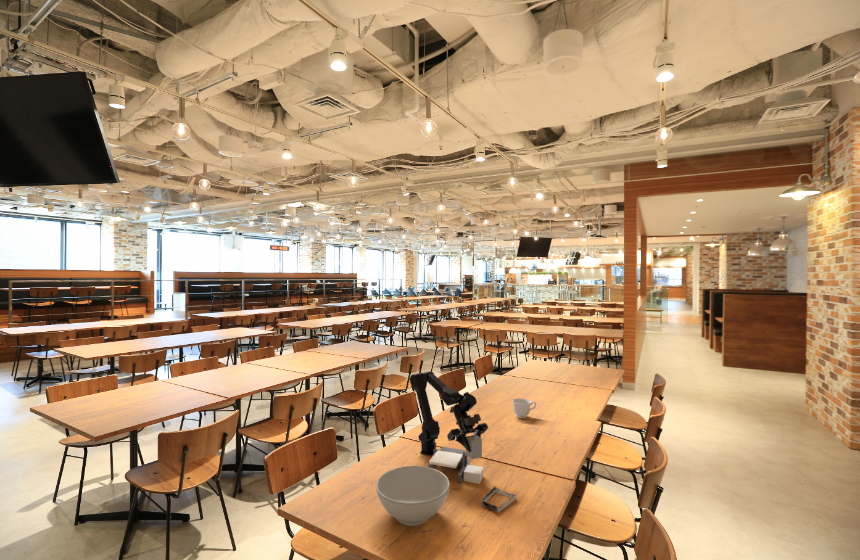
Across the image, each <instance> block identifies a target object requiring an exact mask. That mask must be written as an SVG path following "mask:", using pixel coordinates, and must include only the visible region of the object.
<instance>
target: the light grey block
mask: <svg viewBox="0 0 860 560" xmlns="http://www.w3.org/2000/svg"><path fill="white" fill-rule="evenodd" d="M483 478H484V466H480V465H479V466H478V465H473V464H470V465H467V467H466V469H465V470H464V477H463V482H466V481H467V482H468V483H472V484H478V485H480V484H481V482H482V481H483Z"/></svg>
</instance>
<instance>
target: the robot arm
mask: <svg viewBox="0 0 860 560" xmlns="http://www.w3.org/2000/svg"><path fill="white" fill-rule="evenodd" d="M409 383H410V385H411V386H410V387H411V388H412V390H413V391H414V392H415V393H416V398H417V400H418V401H417V402H418V404H419V405H418V406H419V409H420V414H421V416H422V424H421V432H420V433H419V435H418V436H417V437H418V441H419V442H421V446H420V448H421V451H420V452H419V454H423V455H428V456H433V450H434V449H437V442H436V440H437V439H438V438H439V435H440V433H441V427H440V424H439V422H438V420H435V419H434V418H433V414H432V410H431V406H430V402H429V398H428V393H427V386H428V385H427V384H429V385H430V386H431V387H432V388H433V389H434V390H435V391H436V392H437V393H438V394H439V395H440V397H441V400H442V401H443V403H444V404H445V405H446V406H448V407H449V406H450V409H449V413H452V414H453V416H454V418H455V420H456V421H455V422H456V423H455V425H456V426H458V428H452V429H450V431H448V433H447V441H449V442H451V441H452V442H453V441H455V442H457V443H459V444H460V445H461V446H463V448H465V450H466V449H467V450H468V451H469V452H471V449H470V446H469V444H468V441H467V439H466V437H467V435H468V434H472V435H477V436H478V437H480V438H482V435H483V434H485V432H487V430H488V429H489V426H488V424H487V423H486V422H483V423H479V422H481V421H482V417H481V415H480V414H479V413H475V414H473V416H471V415H470V414H468V412H470V410H472V409H473V408H474V407H475V406H476V404H477V398H476V397H475V396H474V395H473V394H470V393H469V391H467V392H464V393H463V394H461V393H460V392H459V391H458V390H456V389H455V388H452V387H449V386H447V384H445V383H444V382H443V381H442V380H441V379H440V378H439V377H438V376H436V375H435V373H434V372H433V371H431V370H430V371H424V372H417V373H413V374H411V375H410V377H409ZM452 405H453V406H452Z"/></svg>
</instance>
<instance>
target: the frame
mask: <svg viewBox="0 0 860 560" xmlns="http://www.w3.org/2000/svg"><path fill="white" fill-rule="evenodd" d="M437 450H438V448H436V449H434V450H433V455H432V457H433V456H434V455H435V453H436V452H437ZM470 463H471V458H469V457H468V456H466V453H465V455H464V465H463V467H462V466H461V468H460V470H459V472H458V474H457V476H456V483H457V484H461V482H462V481H463V480H464V470H465V469H466V467H467V465H471V464H470ZM436 466H437V465H433V464H429V463H428V465H427V466H426V467H430V468H434V469H435V468H436ZM461 480H462V481H461Z"/></svg>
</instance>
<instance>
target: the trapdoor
mask: <svg viewBox="0 0 860 560" xmlns="http://www.w3.org/2000/svg"><path fill="white" fill-rule="evenodd" d="M465 454H466V449H460V448H456V447H455V448H453V447H448V446H442V447H441V448H439V449H437V452H436V453H435V455H434V456H433V455H432V457H431V458H430V460H429V461H428V465H429V464H433V465H436V466H440V467H445V468H452V469H457V467H461V468H462V467H463V465H464V455H465Z"/></svg>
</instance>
